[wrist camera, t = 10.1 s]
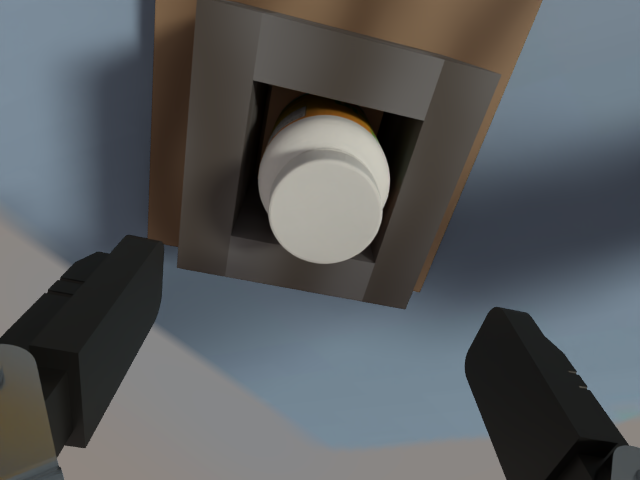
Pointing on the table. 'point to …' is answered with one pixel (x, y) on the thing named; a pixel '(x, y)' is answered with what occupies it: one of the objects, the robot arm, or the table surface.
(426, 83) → the collar block
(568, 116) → the table surface
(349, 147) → the supplement bottle
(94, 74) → the table surface
